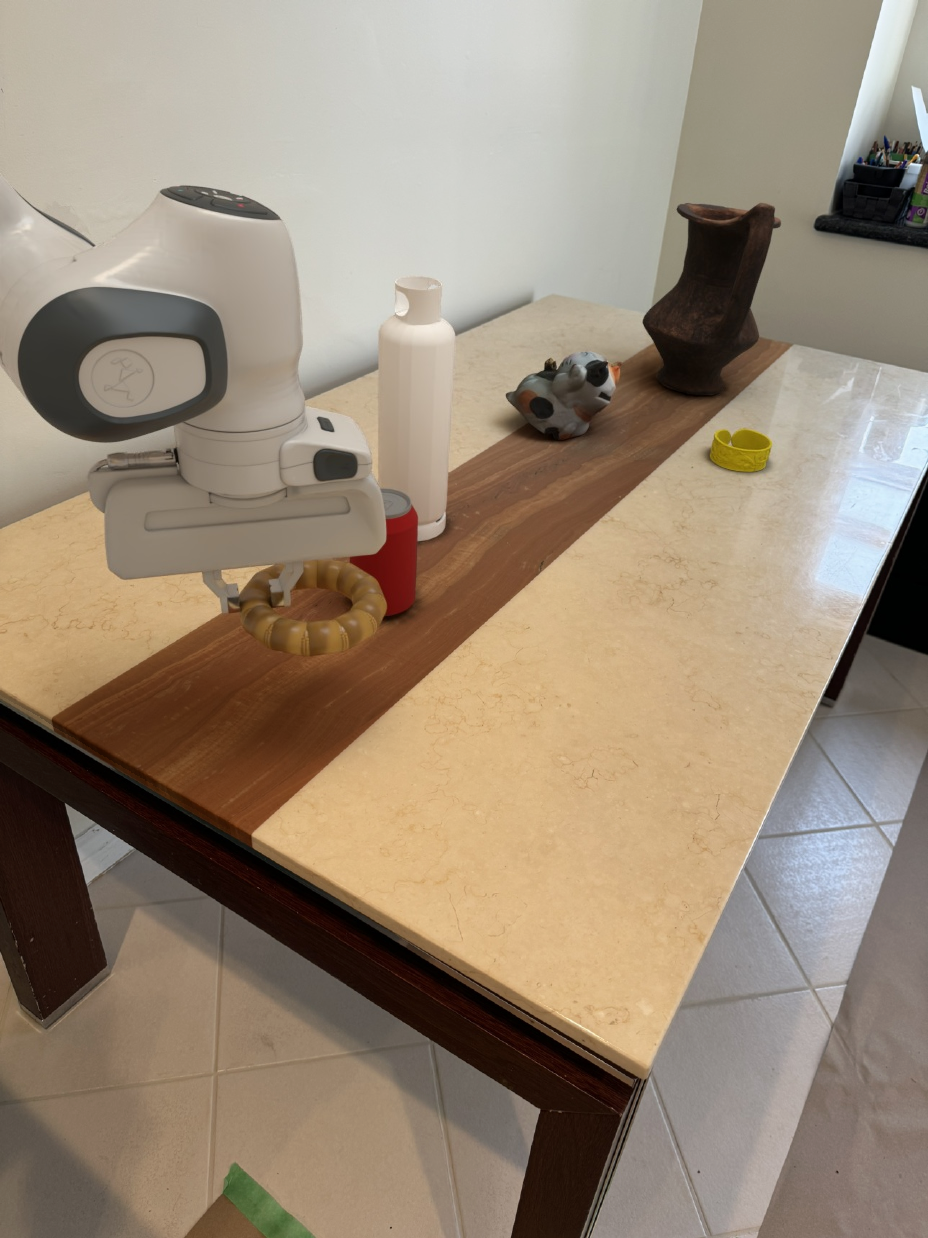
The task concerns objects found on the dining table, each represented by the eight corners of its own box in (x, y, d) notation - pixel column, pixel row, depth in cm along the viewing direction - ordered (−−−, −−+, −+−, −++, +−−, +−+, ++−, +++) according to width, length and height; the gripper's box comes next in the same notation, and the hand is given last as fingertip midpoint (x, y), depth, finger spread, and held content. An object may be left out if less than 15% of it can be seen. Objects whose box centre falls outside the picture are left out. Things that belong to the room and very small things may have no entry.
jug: (615, 365, 152) (648, 174, 134) (711, 362, 156) (755, 177, 138) (666, 415, 135) (710, 206, 118) (772, 410, 140) (830, 207, 122)
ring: (248, 671, 65) (245, 643, 64) (233, 584, 74) (230, 558, 72) (399, 652, 68) (400, 625, 67) (367, 571, 77) (368, 546, 76)
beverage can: (424, 593, 93) (429, 493, 86) (400, 628, 88) (402, 525, 81) (366, 578, 95) (366, 479, 87) (339, 612, 89) (336, 509, 82)
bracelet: (776, 470, 122) (782, 449, 120) (724, 473, 120) (730, 452, 118) (750, 447, 128) (756, 426, 126) (701, 450, 126) (706, 428, 124)
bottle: (457, 532, 103) (473, 290, 87) (397, 547, 100) (401, 298, 83) (424, 501, 109) (434, 268, 92) (366, 515, 105) (364, 275, 89)
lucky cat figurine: (539, 397, 138) (594, 323, 130) (590, 448, 135) (649, 376, 127) (489, 396, 126) (546, 315, 118) (544, 453, 123) (606, 373, 115)
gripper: (80, 477, 55) (115, 647, 63) (394, 454, 61) (389, 613, 69) (83, 434, 60) (115, 598, 68) (374, 417, 66) (372, 570, 74)
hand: (256, 606), depth 69 cm, fingers closed on ring, 2 cm apart
